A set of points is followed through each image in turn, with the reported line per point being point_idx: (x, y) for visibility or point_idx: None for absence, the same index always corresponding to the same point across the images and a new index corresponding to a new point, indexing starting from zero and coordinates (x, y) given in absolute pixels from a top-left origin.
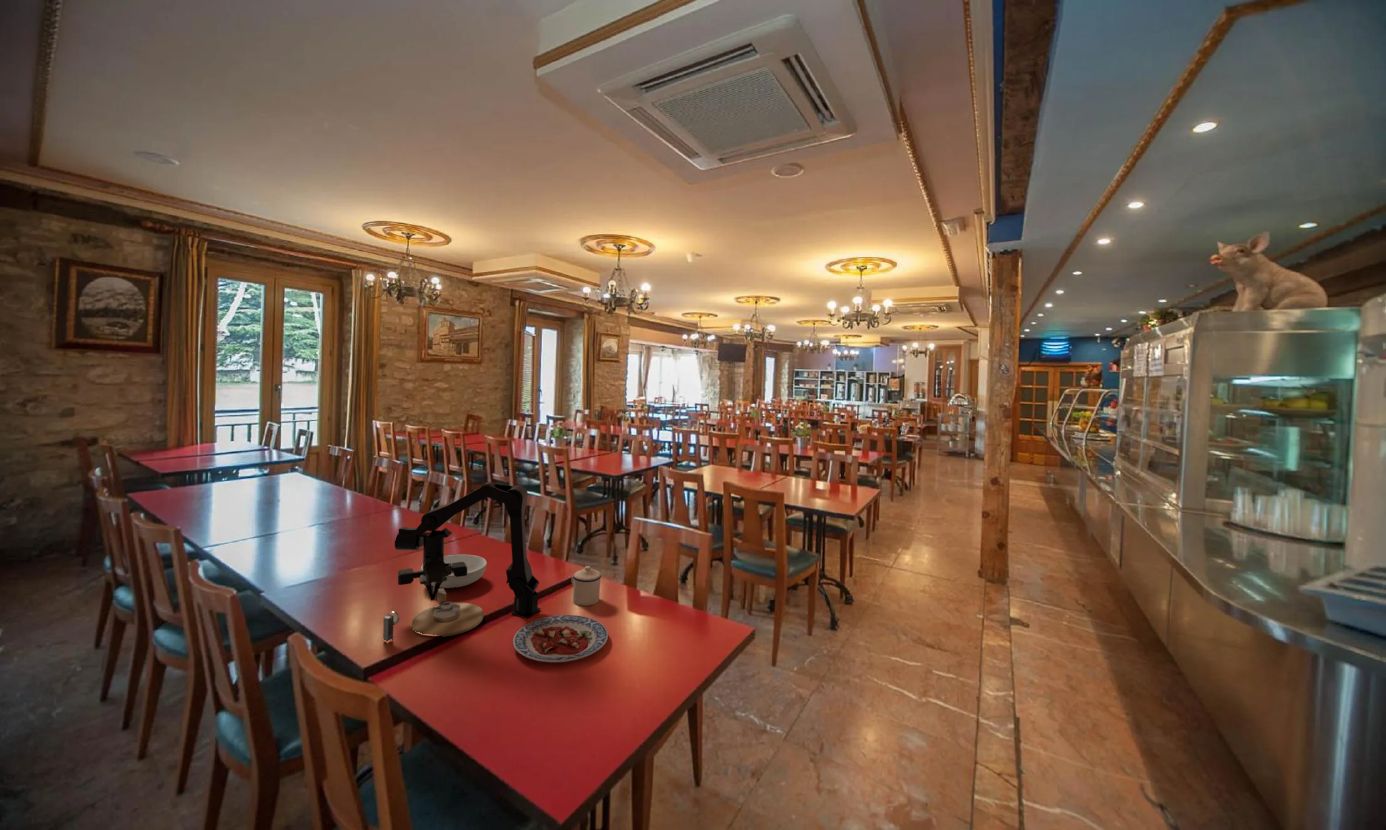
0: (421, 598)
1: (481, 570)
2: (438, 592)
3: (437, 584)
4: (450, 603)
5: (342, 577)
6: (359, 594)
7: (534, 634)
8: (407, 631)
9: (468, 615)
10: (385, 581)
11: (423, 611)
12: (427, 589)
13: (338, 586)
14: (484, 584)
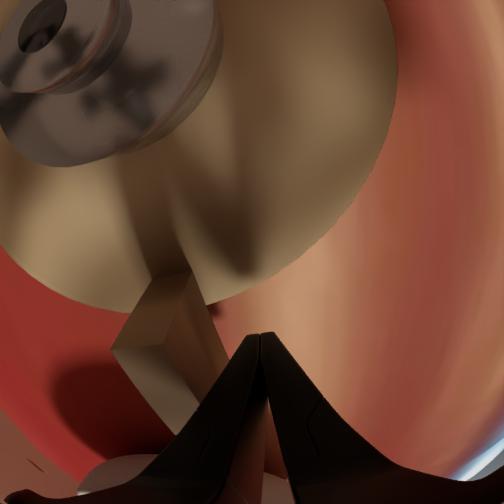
0: None
1: (79, 486)
2: None
3: (185, 486)
4: (16, 43)
5: (453, 466)
6: (469, 424)
7: None
8: (390, 16)
9: None
10: None
11: (327, 213)
12: (343, 421)
13: (476, 442)
14: (94, 441)
